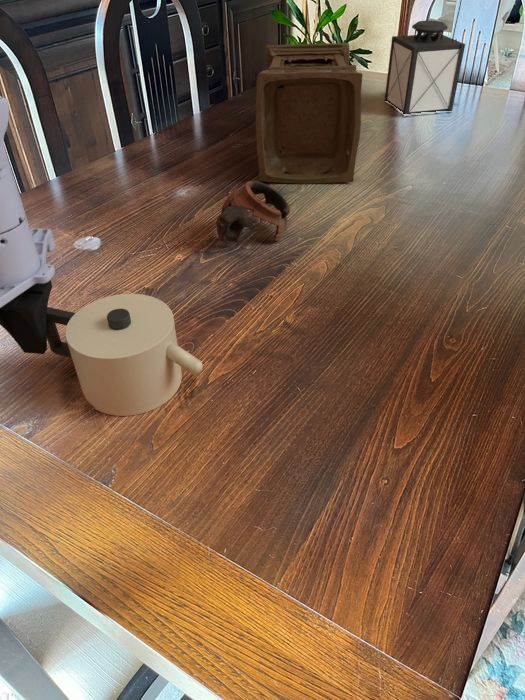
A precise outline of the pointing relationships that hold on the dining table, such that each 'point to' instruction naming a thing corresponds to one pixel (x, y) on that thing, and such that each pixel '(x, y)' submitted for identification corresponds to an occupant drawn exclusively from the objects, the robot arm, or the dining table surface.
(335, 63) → the ornamental box
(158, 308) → the kettle
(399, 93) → the lantern
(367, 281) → the dining table surface
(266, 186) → the brown hollow curved piece
